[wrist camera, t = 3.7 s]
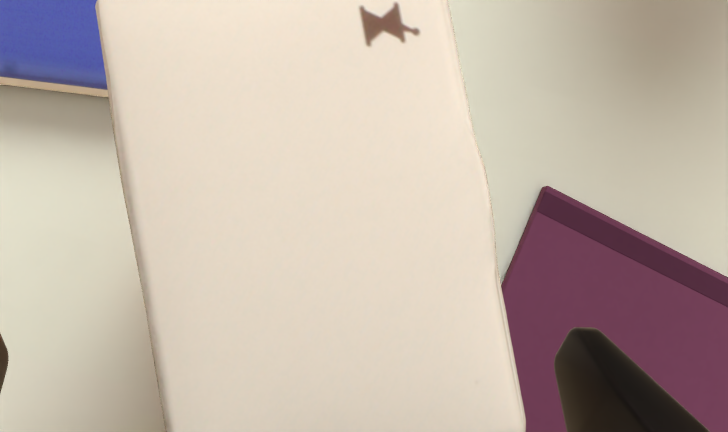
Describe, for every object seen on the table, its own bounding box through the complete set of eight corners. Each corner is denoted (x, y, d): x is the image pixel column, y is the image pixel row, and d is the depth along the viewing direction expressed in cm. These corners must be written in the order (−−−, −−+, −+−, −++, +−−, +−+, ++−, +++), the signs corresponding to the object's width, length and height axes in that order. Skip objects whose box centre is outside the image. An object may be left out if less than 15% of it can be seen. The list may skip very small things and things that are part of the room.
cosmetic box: (205, 163, 18) (80, -28, 6) (338, 144, 19) (452, -61, 7) (237, 356, 18) (168, 540, 6) (371, 329, 18) (549, 443, 7)
